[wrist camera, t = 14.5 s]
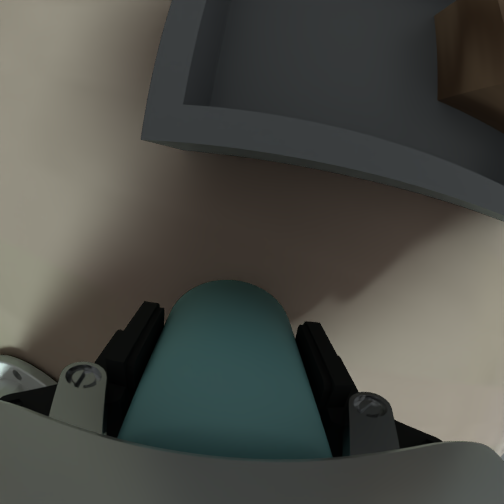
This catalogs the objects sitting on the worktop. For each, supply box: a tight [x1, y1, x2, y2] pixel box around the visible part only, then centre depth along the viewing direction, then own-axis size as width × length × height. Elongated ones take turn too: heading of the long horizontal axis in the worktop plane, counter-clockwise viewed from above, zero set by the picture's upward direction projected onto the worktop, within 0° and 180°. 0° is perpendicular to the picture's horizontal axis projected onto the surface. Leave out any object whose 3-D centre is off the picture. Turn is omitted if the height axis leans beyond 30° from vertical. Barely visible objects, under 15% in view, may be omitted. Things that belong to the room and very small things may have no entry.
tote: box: [141, 0, 504, 221], centre depth 8 cm, size 18×14×5 cm
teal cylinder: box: [117, 280, 333, 459], centre depth 8 cm, size 5×5×7 cm
